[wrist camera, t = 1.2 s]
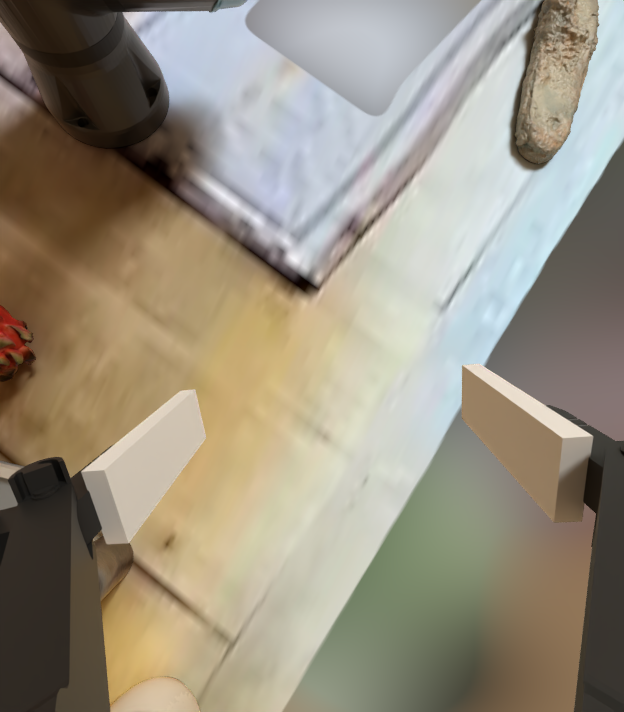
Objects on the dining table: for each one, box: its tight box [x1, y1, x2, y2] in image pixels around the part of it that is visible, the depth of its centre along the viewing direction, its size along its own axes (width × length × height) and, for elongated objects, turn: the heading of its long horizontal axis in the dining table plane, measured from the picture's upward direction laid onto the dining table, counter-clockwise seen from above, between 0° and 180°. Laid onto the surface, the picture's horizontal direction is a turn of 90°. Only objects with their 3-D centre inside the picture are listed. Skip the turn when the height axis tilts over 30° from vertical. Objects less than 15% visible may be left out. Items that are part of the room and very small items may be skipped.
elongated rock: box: [515, 0, 599, 164], centre depth 48 cm, size 35×5×10 cm
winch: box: [94, 536, 133, 601], centre depth 28 cm, size 6×9×12 cm
